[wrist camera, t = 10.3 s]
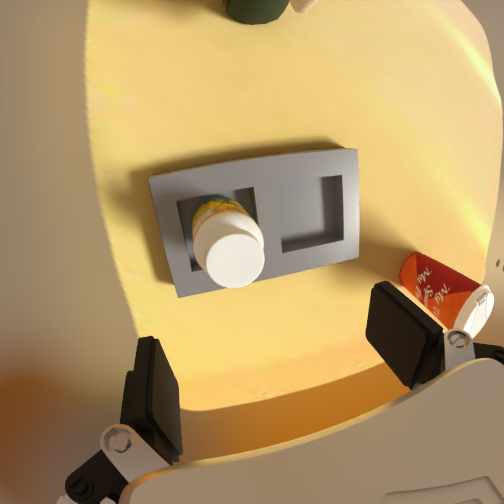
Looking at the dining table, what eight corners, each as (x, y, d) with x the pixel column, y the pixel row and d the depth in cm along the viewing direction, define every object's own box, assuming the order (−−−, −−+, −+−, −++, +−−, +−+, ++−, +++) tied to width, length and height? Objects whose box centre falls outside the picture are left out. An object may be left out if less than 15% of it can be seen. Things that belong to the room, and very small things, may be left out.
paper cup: (391, 260, 35) (464, 313, 22) (428, 237, 35) (500, 278, 22) (396, 301, 38) (455, 356, 25) (430, 278, 38) (490, 323, 26)
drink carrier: (152, 175, 25) (148, 178, 22) (344, 147, 28) (357, 149, 25) (178, 285, 29) (178, 297, 27) (347, 249, 32) (358, 257, 30)
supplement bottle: (181, 228, 27) (178, 271, 18) (214, 184, 26) (227, 205, 17) (224, 257, 29) (241, 309, 20) (257, 216, 28) (289, 252, 19)
